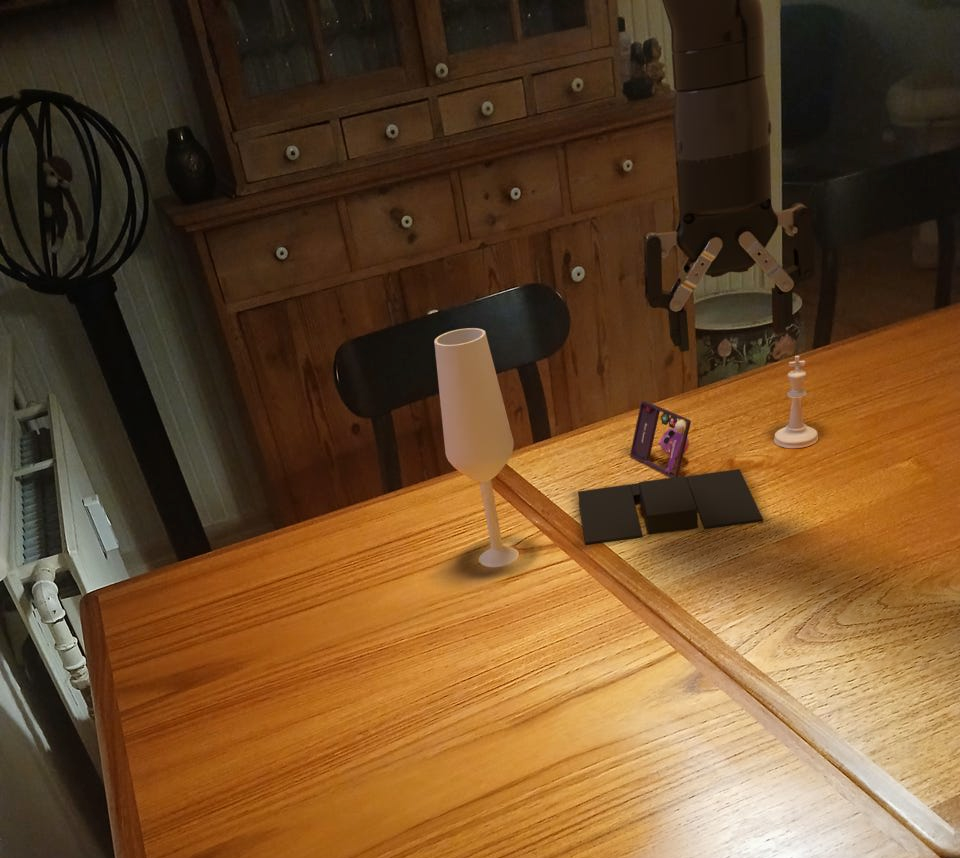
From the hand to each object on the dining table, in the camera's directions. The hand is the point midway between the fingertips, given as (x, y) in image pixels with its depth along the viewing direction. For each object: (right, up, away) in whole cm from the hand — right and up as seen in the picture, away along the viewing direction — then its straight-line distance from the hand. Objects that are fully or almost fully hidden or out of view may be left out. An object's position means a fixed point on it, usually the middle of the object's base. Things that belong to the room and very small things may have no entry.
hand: (730, 340), depth 89 cm
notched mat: (-3, -14, +17) cm, 22 cm away
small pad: (-3, -14, +16) cm, 21 cm away
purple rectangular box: (0, -6, +27) cm, 28 cm away
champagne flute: (-21, -19, +14) cm, 31 cm away
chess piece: (+14, -4, +27) cm, 30 cm away
